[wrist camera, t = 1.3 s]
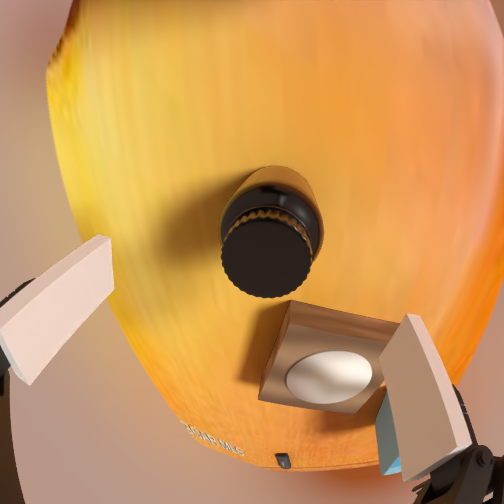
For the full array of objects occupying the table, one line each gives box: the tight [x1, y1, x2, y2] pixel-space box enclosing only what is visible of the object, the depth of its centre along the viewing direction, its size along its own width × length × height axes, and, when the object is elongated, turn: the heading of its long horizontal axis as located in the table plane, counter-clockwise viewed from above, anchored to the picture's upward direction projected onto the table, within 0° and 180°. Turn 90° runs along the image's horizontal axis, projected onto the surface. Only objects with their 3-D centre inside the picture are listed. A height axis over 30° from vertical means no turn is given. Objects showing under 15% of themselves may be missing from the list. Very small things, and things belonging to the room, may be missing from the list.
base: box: [258, 300, 400, 414], centre depth 30 cm, size 14×14×4 cm
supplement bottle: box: [218, 166, 324, 298], centre depth 19 cm, size 7×7×12 cm
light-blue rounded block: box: [375, 391, 402, 475], centre depth 30 cm, size 12×4×12 cm, turn 8°
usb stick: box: [276, 453, 291, 469], centre depth 48 cm, size 10×3×2 cm, turn 11°
